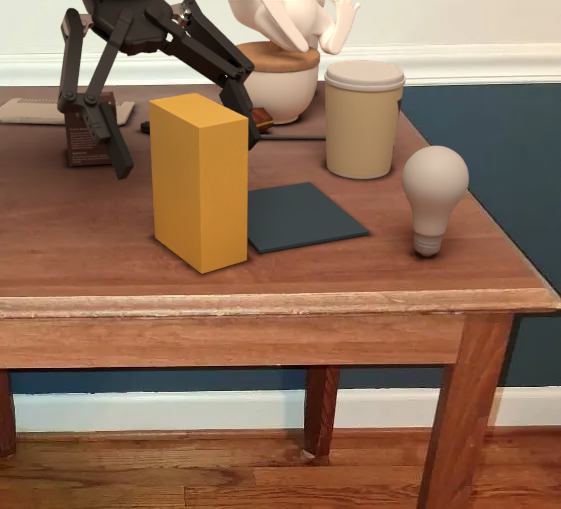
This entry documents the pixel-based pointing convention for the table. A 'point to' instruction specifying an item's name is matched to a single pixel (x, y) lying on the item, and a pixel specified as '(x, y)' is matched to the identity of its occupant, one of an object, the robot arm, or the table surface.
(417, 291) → the table surface
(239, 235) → the cereal box
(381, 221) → the table surface
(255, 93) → the lidded bowl
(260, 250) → the slate mat
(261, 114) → the toy gun
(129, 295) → the table surface
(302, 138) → the screw
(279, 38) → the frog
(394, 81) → the coffee cup
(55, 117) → the grooming comb
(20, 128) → the table surface
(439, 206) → the lightbulb
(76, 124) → the box
